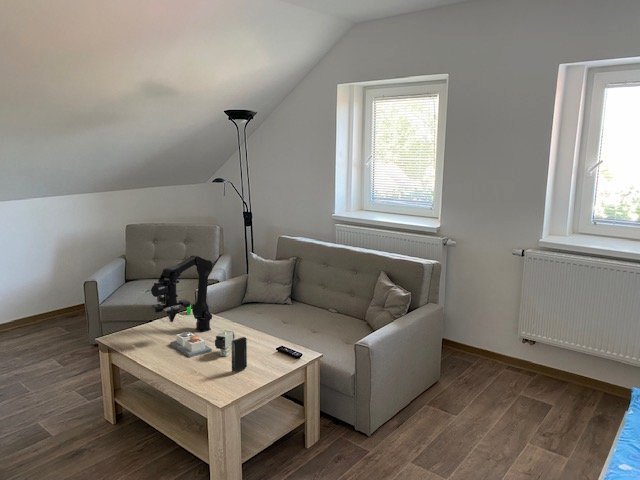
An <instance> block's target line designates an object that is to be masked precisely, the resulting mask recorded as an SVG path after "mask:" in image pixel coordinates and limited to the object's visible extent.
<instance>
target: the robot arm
mask: <svg viewBox="0 0 640 480" xmlns="http://www.w3.org/2000/svg"><path fill="white" fill-rule="evenodd" d="M194 266H195V267H196V271H197V273H198V285H197V295H196V296H197V297H196V302H194V303H195V304H192V308H191V313H192V315H193V317H194V319H196V323H195V326H196V328H195V330H197V331H198V332H200V333H203V332H207V331H211V330H212V328H211V323H210V321H211V320H212V319H213V315H212V313H211V312H210V311H209V310H210V309H209V304H208V302H207V295H208V283H209V276H210V274H211V273H212V271H213V262H212V261H211V260H209V259H205V258H202V257H201V256H199V255H190V256H189V257H188V258H186V259H185V260H183V261H181V262H179V263H178V264H175V265H172V266H168V267H165V268H164V269H162V271H161V272H162V273H161V275H160V277H159V278H158V280H157V282H154V283H153V285H152V287H151V289H150V292H151V295H152V296H153V297H155V298H157V299H156V301H157V303H156V304H152V305H151V308H150V309H151V311H152V312H154V313H157V314H158V313H162V312H165V313H166V315H167V317H168V319H169V322H170V323H173V322H174V320H175V317H176V316H177V314H178V312H179V311H180V310H181V308H179V307H184V308H187V307H190V304H191V302H190V301H189V300H187V299H181V300H178V302H177V299H178V297H179V295H178V293H177V284H179V283H180V281H179V280H178V278H180V277H181V274H182V273H184V272H185V271H187V270H189V269H190V268H192V267H194Z"/></svg>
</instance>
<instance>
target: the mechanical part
mask: <svg viewBox="0 0 640 480" xmlns="http://www.w3.org/2000/svg"><path fill="white" fill-rule="evenodd" d="M186 315H187V316H191V315H192V304H191V303H190V307H186Z"/></svg>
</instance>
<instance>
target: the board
mask: <svg viewBox="0 0 640 480" xmlns="http://www.w3.org/2000/svg"><path fill="white" fill-rule="evenodd" d="M190 333H191V335H190V336H188V337H184V338H183V337H182V336H181V334H182V333H178V334H176V340H172V341H170V342H169V345H170V346H172V348H175V349H176V350H178V351H179V352H181V353H182V354H184V355H185V356H186V357H188V358H192V357H193V358H194V357H197V356H199V355H204V354H208V353H212V351H213V349H212V348H211V347H209V346H208V345H207V344H206V341H205V340H204V339H202V337H200V339H199V342H195V343H192V342H191V339H190V337H191V336H194V335H195V334H193V333H192V332H190Z"/></svg>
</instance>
